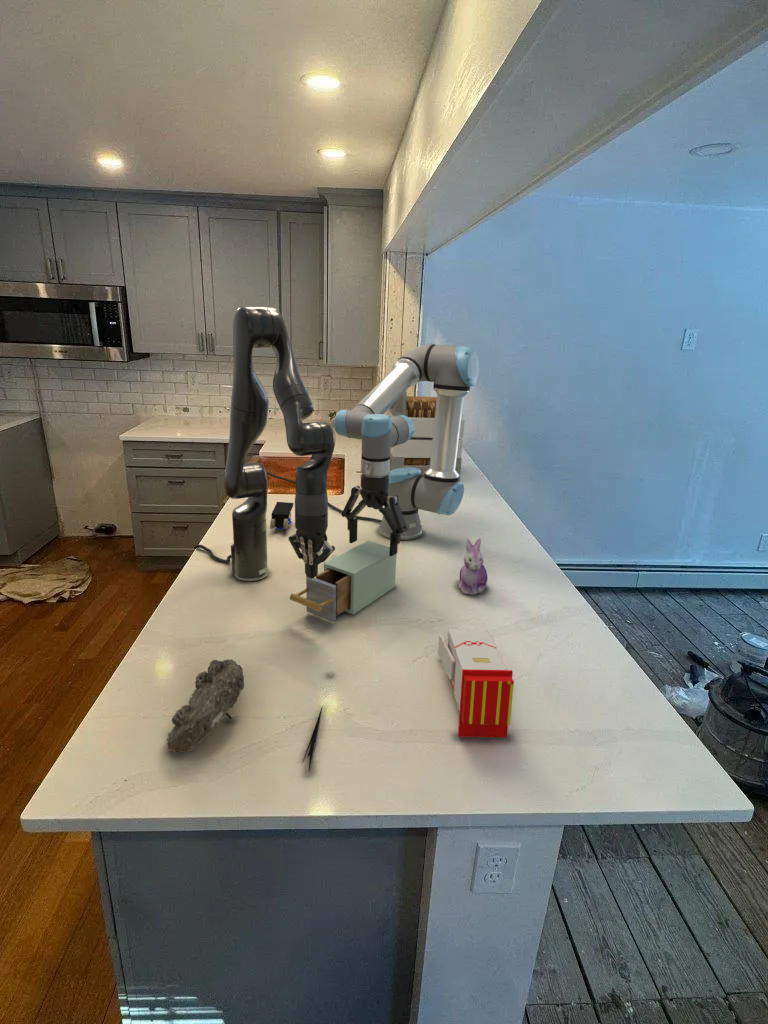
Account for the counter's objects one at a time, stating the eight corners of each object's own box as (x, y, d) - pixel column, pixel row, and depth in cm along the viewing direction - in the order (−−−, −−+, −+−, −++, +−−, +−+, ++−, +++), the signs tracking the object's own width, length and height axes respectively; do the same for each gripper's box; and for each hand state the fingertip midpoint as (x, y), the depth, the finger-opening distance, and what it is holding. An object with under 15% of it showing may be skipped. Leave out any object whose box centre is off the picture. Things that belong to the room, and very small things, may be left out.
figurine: (469, 599, 156) (474, 549, 151) (448, 583, 165) (453, 535, 160) (496, 592, 161) (502, 544, 156) (475, 577, 169) (480, 531, 164)
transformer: (382, 463, 289) (386, 382, 275) (445, 464, 293) (451, 384, 279) (390, 482, 257) (394, 392, 243) (460, 483, 261) (468, 394, 247)
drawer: (317, 632, 136) (317, 596, 132) (290, 620, 140) (289, 585, 137) (375, 594, 155) (377, 562, 151) (350, 585, 159) (350, 553, 156)
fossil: (192, 660, 117) (244, 628, 112) (224, 691, 120) (276, 661, 115) (142, 746, 98) (202, 712, 93) (182, 779, 101) (242, 748, 96)
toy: (488, 613, 130) (523, 677, 101) (484, 667, 133) (517, 744, 104) (435, 612, 130) (455, 676, 101) (432, 666, 133) (451, 743, 103)
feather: (331, 679, 122) (336, 673, 122) (307, 777, 96) (313, 769, 95) (324, 675, 122) (329, 669, 121) (298, 772, 95) (304, 764, 95)
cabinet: (353, 614, 146) (354, 573, 142) (323, 602, 151) (323, 563, 147) (394, 586, 162) (396, 549, 158) (366, 577, 167) (368, 540, 163)
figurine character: (289, 539, 194) (294, 519, 208) (288, 519, 191) (294, 500, 204) (269, 538, 194) (276, 518, 208) (268, 518, 191) (275, 499, 204)
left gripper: (278, 506, 131) (280, 574, 136) (323, 520, 124) (322, 590, 130) (300, 499, 136) (301, 564, 142) (344, 511, 130) (342, 579, 136)
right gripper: (329, 468, 152) (329, 540, 160) (407, 487, 140) (403, 564, 147) (346, 462, 158) (345, 532, 166) (423, 480, 145) (418, 555, 153)
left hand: (311, 576), depth 136 cm, fingers closed
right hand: (372, 548), depth 156 cm, fingers open, 13 cm apart
